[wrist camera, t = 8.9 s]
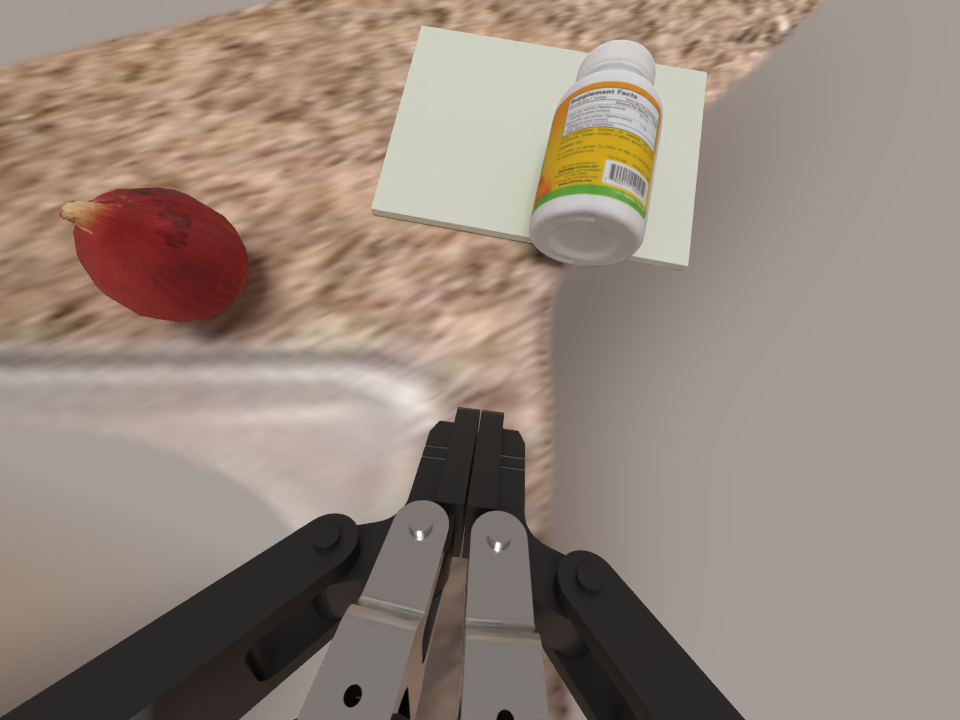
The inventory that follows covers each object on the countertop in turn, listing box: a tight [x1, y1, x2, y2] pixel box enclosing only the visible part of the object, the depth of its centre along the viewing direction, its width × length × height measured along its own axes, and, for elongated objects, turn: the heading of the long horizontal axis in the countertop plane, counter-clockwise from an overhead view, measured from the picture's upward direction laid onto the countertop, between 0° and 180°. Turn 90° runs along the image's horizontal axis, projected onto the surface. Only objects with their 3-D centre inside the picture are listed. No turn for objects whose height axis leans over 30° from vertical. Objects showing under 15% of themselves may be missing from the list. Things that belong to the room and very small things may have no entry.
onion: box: [60, 188, 249, 322], centre depth 17 cm, size 6×6×8 cm
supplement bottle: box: [529, 40, 663, 267], centre depth 19 cm, size 5×5×10 cm
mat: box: [371, 26, 707, 270], centre depth 22 cm, size 18×13×1 cm
